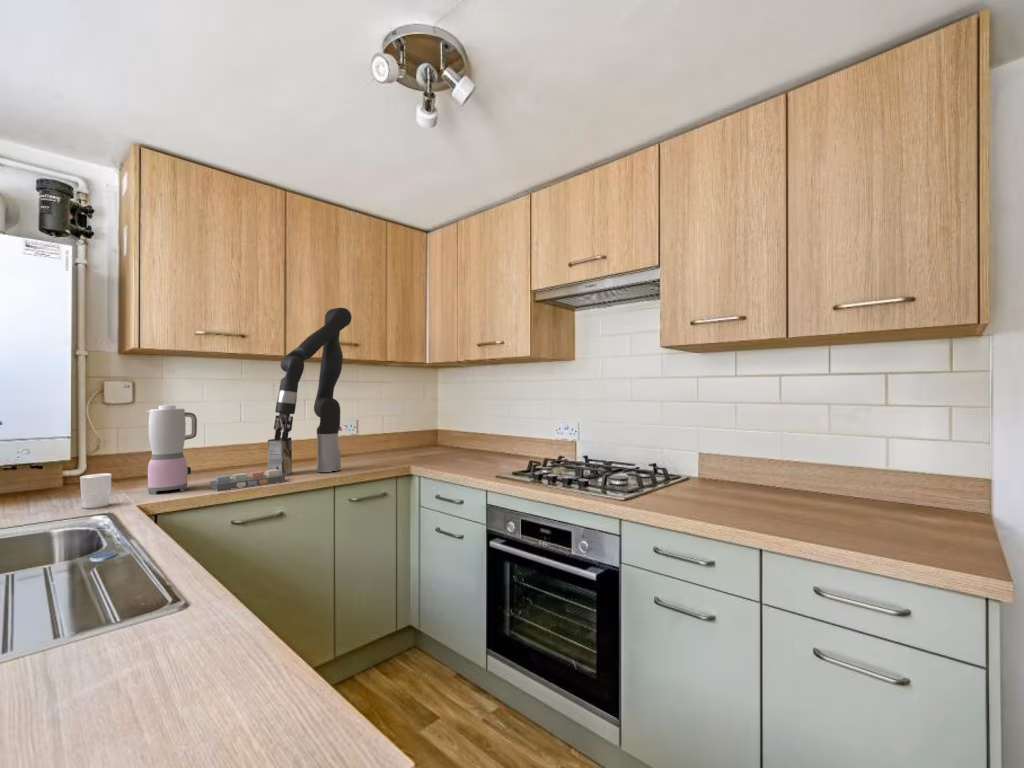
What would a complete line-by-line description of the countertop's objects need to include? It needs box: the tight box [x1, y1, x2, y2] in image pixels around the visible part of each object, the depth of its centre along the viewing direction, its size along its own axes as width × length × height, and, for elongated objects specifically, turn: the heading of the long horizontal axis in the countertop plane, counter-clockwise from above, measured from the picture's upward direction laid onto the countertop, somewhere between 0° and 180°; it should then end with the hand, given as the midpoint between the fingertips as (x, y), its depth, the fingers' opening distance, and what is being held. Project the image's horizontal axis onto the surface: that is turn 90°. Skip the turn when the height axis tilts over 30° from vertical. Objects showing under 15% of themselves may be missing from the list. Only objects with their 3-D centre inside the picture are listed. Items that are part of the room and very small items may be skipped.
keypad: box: [209, 473, 286, 492], centre depth 193 cm, size 24×10×2 cm, turn 134°
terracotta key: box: [249, 470, 264, 479], centre depth 196 cm, size 4×4×3 cm
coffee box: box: [267, 437, 293, 476], centre depth 216 cm, size 9×6×16 cm
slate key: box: [214, 474, 231, 483], centre depth 187 cm, size 4×4×3 cm
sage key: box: [232, 472, 248, 481], centre depth 191 cm, size 4×4×3 cm
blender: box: [146, 404, 198, 495], centre depth 185 cm, size 16×12×32 cm
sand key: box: [265, 469, 279, 477], centre depth 200 cm, size 4×4×3 cm
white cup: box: [79, 472, 112, 509], centre depth 160 cm, size 8×8×10 cm
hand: (280, 440), depth 206 cm, fingers open, 8 cm apart
